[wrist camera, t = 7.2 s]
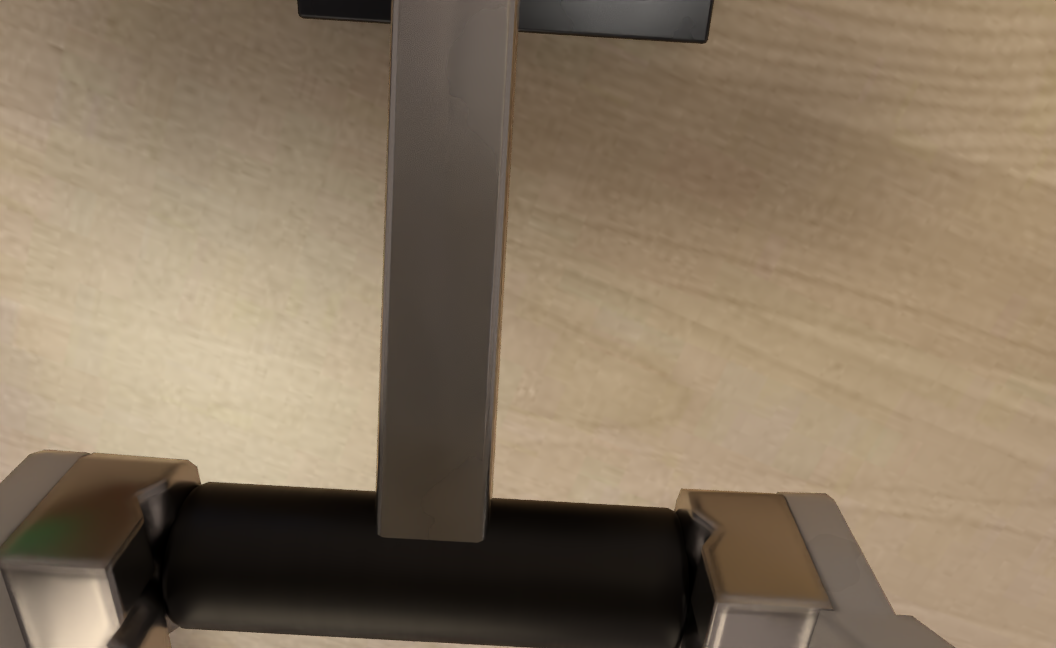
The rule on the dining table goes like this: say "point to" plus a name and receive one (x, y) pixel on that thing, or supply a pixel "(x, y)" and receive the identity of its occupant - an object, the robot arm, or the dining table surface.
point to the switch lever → (434, 423)
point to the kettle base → (562, 17)
